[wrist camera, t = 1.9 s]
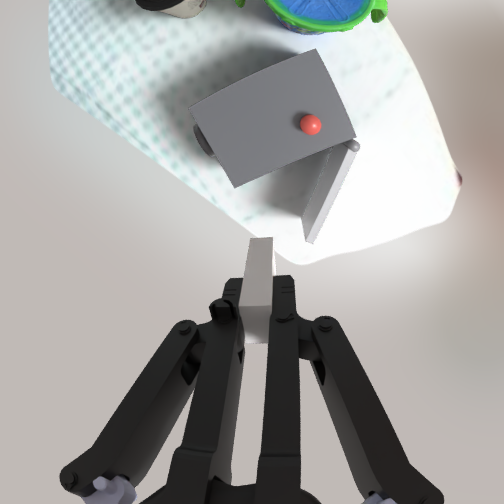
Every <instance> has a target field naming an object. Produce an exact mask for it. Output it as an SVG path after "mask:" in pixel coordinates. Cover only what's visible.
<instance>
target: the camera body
mask: <svg viewBox="0 0 504 504" xmlns="http://www.w3.org/2000/svg"><path fill="white" fill-rule="evenodd" d="M188 109H189V111H190V112H191V114H192V116H193V117H194V119H195V121H196V124H195V125H194V133H195V136H196V138H197V140H198V142H199V144H200V146H201V147H202V149H203V150H204V151H205V152H206V153H207V154H208V155H209V156H211V157H213V156H215V155H216V157H217V159H218V160H219V162H220V164H221V166H222V167H223V169H224V171H225V172H226V174H227V176H228V178H229V179H230V181H231V183H232V185H233V186H234V188H237V187H239V186H241V185H243V184H245V183H247V182H249V181H252V180H254V179H256V178H258V177H260V176H263V175H265V174H267V173H269V172H272V171H274V170H276V169H279V168H281V167H283V166H286V165H288V164H290V163H293V162H295V161H297V160H300V159H302V158H305V157H307V156H309V155H312V154H314V153H317V152H319V151H322V150H324V149H327V148H329V147H332V146H335V145H337V144H340V143H342V142H345V141H348V140H350V139H353V138H356V134H355V132H354V129H353V127H352V124H351V122H350V119H349V117H348V114H347V112H346V110H345V107H344V105H343V103H342V101H341V98H340V96H339V94H338V92H337V90H336V87H335V85H334V83H333V81H332V79H331V77H330V75H329V73H328V71H327V69H326V67H325V65H324V63H323V61H322V59H321V57H320V56H319V54H318V52H317V50H316V49H313V50H310V51H307V52H305V53H302V54H299V55H296V56H294V57H291V58H289V59H286V60H284V61H281V62H279V63H276V64H274V65H271V66H269V67H267V68H265V69H262V70H260V71H258V72H256V73H253V74H251V75H249V76H247V77H245V78H243V79H241V80H239V81H237V82H235V83H233V84H231V85H229V86H227V87H225V88H223V89H221V90H219V91H217V92H215V93H214V94H212V95H210V96H208V97H206V98H205V99H203V100H201V101H199V102H198V103H196V104H194V105H193V106H191V107H189V108H188Z"/></svg>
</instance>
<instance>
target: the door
mask: <svg viewBox="0 0 504 504" xmlns="http://www.w3.org/2000/svg"><path fill="white" fill-rule="evenodd" d="M359 149H360V145H359V143H358V142H357V141H355V140H354V139H350V140H348V141H345V142H342V143H340V144H337V145H335V146H333V148H332V151H331V153H330V155H329V158H328V160H327V162H326V165H325V167H324V169H323V171H322V174H321V176H320V178H319V181H318V183H317V185H316V187H315V190H314V192H313V194H312V196H311V199H310V201H309V203H308V205H307V207H306V210H305V212H304V214H303V216H302V218H301V220H302V225H303V230H304V236H305V241H306V242H309V243H312V244H313V243H314V241H315V239H316V237H317V235H318V233H319V231H320V229H321V227H322V225H323V223H324V221H325V219H326V217H327V215H328V213H329V211H330V209H331V207H332V205H333V203H334V201H335V199H336V197H337V195H338V193H339V190H340V188H341V186H342V184H343V182H344V180H345V178H346V175H347V173H348V171H349V169H350V167H351V165H352V162H353V160H354V158H355V156H356V154H357V151H358V150H359Z"/></svg>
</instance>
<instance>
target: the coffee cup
mask: <svg viewBox="0 0 504 504" xmlns="http://www.w3.org/2000/svg"><path fill="white" fill-rule="evenodd" d="M135 1H136V3H137V4H138V5H139V6H140V7H141V8H143V9H146V10H150V11H160V12H164V13H167V14H170V15H173V16H176V17H179V18H191V17H194V16H196V15H198V14H199V13H201V12H202V11H203V9H204V8H205V6H206V0H135Z"/></svg>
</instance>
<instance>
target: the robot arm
mask: <svg viewBox="0 0 504 504" xmlns="http://www.w3.org/2000/svg"><path fill="white" fill-rule="evenodd" d="M209 310H210V313H211V317H212V320H211V321H210V322H207V323H204V324H199V325H196V323H195V322H194V321H191V320H183V321H180V322H178V323H176V324H175V325H174V327H173V328H172V329H171V331H170V333H169V334H168V335H167V336H166V338H165V339H164V341H163V342H162V344H161V345H160V347H159V348H158V349H157V351H156V352H155V354H154V355H153V357H152V358H151V359H150V361H149V362H148V364H147V365H146V367H145V368H144V370H143V371H142V372H141V374H140V376H139V377H138V378H137V380H136V381H135V383H134V384H133V386H132V387H131V389H130V390H129V392H128V393H127V394H126V396H125V397H124V399H123V400H122V402H121V404H120V405H119V406H118V408H117V410H116V411H115V412H114V414H113V415H112V417H111V418H110V420H109V421H108V423H107V424H106V426H105V427H104V429H103V431H102V432H101V434H100V435H99V437H98V438H97V440H96V441H95V443H94V444H93V446H92V447H91V448H90V449H88V450H87V451H86V452H84V453H83V454H82V455H80V456H79V457H78V458H76V459H75V460H73V461H72V462H71V463H69V464H68V465H67V466H65V467H64V468H63V469H62V470H61V473H60V482H61V485H62V486H63V487H64V489H65V490H67V491H68V492H71V493H73V494H76V495H78V496H80V497H81V498H82V499H83V500H84V501H85V503H86V504H132V503H133V502H134V501H135V500H136V499H137V494H136V492H135V489H134V488H135V487H136V486H137V485H138V484H139V483H140V482H141V481H142V480H143V478H144V477H145V476H146V474H147V472H148V471H149V469H150V468H151V466H152V464H153V462H154V460H155V459H156V457H157V455H158V453H159V452H160V450H161V448H162V446H163V444H164V443H165V441H166V439H167V437H168V435H169V434H170V432H171V430H172V428H173V426H174V425H175V423H176V421H177V419H178V417H179V415H180V413H181V412H182V410H183V408H184V406H185V405H186V403H187V401H188V399H189V397H190V395H191V394H192V392H193V390H194V394H193V398H192V402H191V406H190V411H189V415H188V419H187V423H186V428H185V432H184V436H183V440H182V444H181V446H180V447H178V448H176V450H175V451H174V454H173V457H172V461H171V465H170V469H169V474H168V478H167V483H166V485H165V486H163V487H162V488H160V489H159V490H157V491H156V492H155V493H153V494H152V495H151V496H149V497H148V498H146V499H145V500H143V502H141V503H139V504H321V503H320V502H319V501H318V500H317V498H315V497H314V496H313V495H312V494H310V493H308V492H307V491H305V490H302V489H300V483H301V479H300V478H301V454H300V379H299V378H300V377H299V358H301V359H305V360H310V363H311V366H312V368H313V371H314V374H315V376H316V379H317V382H318V384H319V386H320V389H321V392H322V394H323V397H324V400H325V402H326V405H327V408H328V410H329V413H330V416H331V418H332V421H333V424H334V426H335V429H336V432H337V434H338V437H339V440H340V443H341V445H342V448H343V451H344V453H345V456H346V459H347V461H348V464H349V467H350V470H351V472H352V475H353V478H354V481H355V483H356V485H357V487H358V490H359V491H360V493H361V494H362V496H363V497H364V499H365V501H364V502H363V503H362V504H444V496H443V494H442V493H441V491H440V490H439V489H438V488H436V487H435V486H434V485H433V484H432V483H431V482H430V481H428V480H427V479H426V478H425V477H424V476H423V475H422V474H420V473H419V472H418V471H417V470H416V469H415V468H414V467H413V466H412V465H411V464H410V463H409V461H408V459H407V456H406V454H405V452H404V450H403V448H402V445H401V443H400V441H399V439H398V437H397V435H396V433H395V431H394V429H393V426H392V424H391V422H390V420H389V418H388V416H387V414H386V412H385V410H384V408H383V406H382V404H381V402H380V400H379V398H378V396H377V394H376V392H375V390H374V388H373V386H372V384H371V382H370V380H369V378H368V376H367V375H366V373H365V371H364V369H363V367H362V365H361V363H360V361H359V359H358V357H357V355H356V354H355V352H354V350H353V348H352V346H351V344H350V342H349V341H348V339H347V337H346V335H345V333H344V331H343V329H342V328H341V326H340V324H339V322H338V321H337V320H336V319H334V318H333V317H330V316H320V317H318V318H316V319H315V320H314V321H310V320H305V319H303V318H301V317H300V316H299V315H298V314H297V311H296V300H295V285H294V279H293V278H292V277H291V276H290V275H281V276H276V267H275V255H274V242H273V237H266V238H251V239H250V244H249V250H248V255H247V261H246V267H245V272H244V278H230V279H229V280H228V281H227V282H226V284H225V287H224V291H223V296H222V298H220V299H217V300H215V301H213V302H212V303H211V304H210V306H209ZM244 341H246V343H247V344H252V343H253V344H254V343H268V357H267V372H266V388H265V404H264V417H263V430H262V443H261V453H260V456H259V460H258V468H257V479H256V483H255V484H250V485H243V486H232V485H231V479H232V473H231V460H232V452H233V444H234V436H235V429H236V421H237V412H238V404H239V396H240V388H241V381H242V373H243V364H244V356H245V348H244ZM194 388H195V389H194Z"/></svg>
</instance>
